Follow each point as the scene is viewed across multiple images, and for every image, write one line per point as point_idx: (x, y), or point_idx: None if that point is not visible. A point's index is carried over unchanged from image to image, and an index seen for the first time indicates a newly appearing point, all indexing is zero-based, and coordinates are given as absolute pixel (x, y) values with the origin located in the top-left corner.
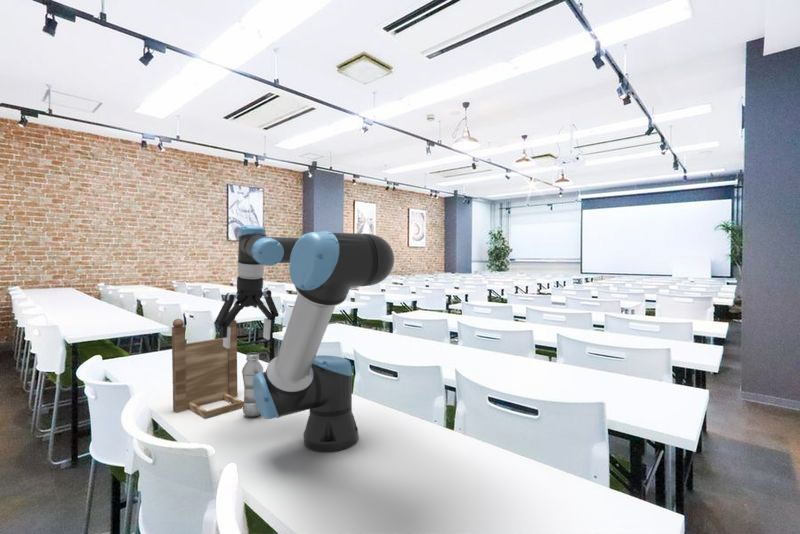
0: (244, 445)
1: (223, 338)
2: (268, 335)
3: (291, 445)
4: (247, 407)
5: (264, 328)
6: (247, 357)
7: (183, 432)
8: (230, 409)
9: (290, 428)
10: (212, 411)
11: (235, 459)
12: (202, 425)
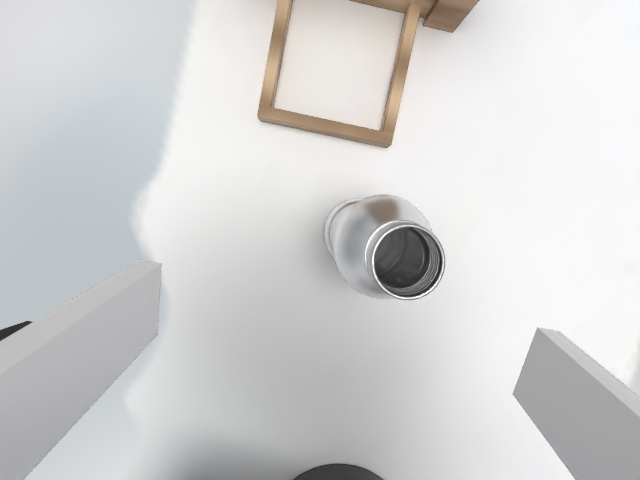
0: (203, 371)
1: (92, 293)
2: (540, 427)
3: (264, 467)
4: (326, 242)
5: (603, 408)
6: (368, 252)
7: (164, 157)
8: (341, 136)
9: (337, 394)
10: (281, 121)
11: (144, 411)
12: (224, 160)
